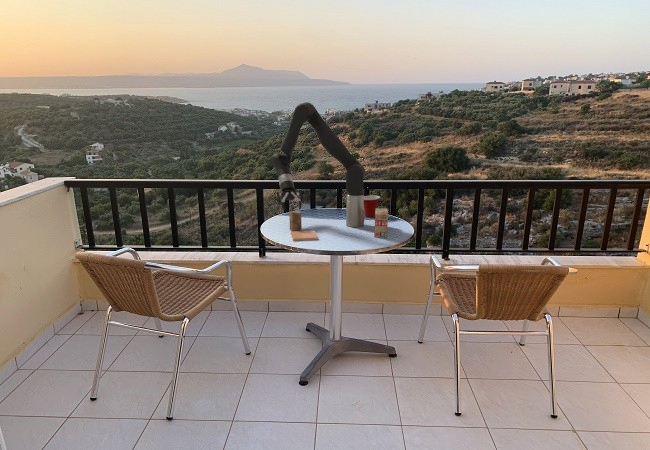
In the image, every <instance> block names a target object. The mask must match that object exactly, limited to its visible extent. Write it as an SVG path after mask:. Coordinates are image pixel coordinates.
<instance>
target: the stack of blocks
mask: <svg viewBox="0 0 650 450" xmlns="http://www.w3.org/2000/svg"><path fill="white" fill-rule="evenodd" d="M388 219H389V211H388V208H386V207H384V208H379V207H377V208H376V209H375V217H374V238H381V239H382V238H386V239H387V237H388V224H389V220H388Z"/></svg>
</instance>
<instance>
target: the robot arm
mask: <svg viewBox="0 0 650 450" xmlns="http://www.w3.org/2000/svg"><path fill="white" fill-rule="evenodd" d="M306 122H308V124H309V125H310V126H311V127H312V128H313V130H314V131H315V133H316V136H317V139H318V141H319V143H320V145H321V146H322V147H323V148H324V149H325V151H326V152H327V153H328V154H329V155H330V156H332V157H333V158H334V159H335V160H337V161H338V162H339V163H340V164H341V165H342V166H343V167H344V169H345V172H346V174H345V178H346V179H345V190H346V209H345V210H346V211H345V212H346V213H345V214H346V215H345V216H346V218H345V225H346V226H347V227H349V228H360V227H364V226H365V210H364V196H365V188H364V178H365V176H366V168H365V167H364V165H362V164H361V163H360V162H359V161H358V160H357V159H356V158H355V157H354V156H353V155H352V154H351V152H350V151H349V150H348V148H347V147H346V146H345V144H344V142H343V141H342V140H341V139H340V138H339V136H338V135H337V134H336V133H335V132H334V130H332V128H331V127H330V126H329V124H328V123H326V121H325V120H324V119H323V118H322V116H321V115H320V112H319V111H318V110H317V109H316V107H315V106H314V104H312V103H311V102H302V103H299V104H297V105H296V106H295V108H294V111H293V114H292V119H291V122H290V124H289V126H288V130H287V132H286V134H285V137H284V139H283V141H282V144H281V145H280V151H281V152H282V154H281V153H277V152H276V153H274V154H273V155H272V157H271V163H272V166H273V168H274V169H275V172H276V173H277V177H278V182H279V183H278V185H279V188H280V192H278V191H277V192H276V193H275V197H276V203H277V204H278V205H280V206H281V210H283V211H286V205H285V202H286V201H294V202H296V203H297V206H298V210H301V209H302V207H303V206H302V205H303V204H302V203H303V202H304V195H303V192H302V191H301V190H299V191H298V192H297V191H296V188H295V185H294V181H293V180H294V179H293V177H292V174H291V173H292V172H291V169H290V168H289V166H290V165H291V162H292V161H291V160H292V155H293V151H294V149H295V147H296V145H297V143H298V139H299V135H300V132H301V129H302V127H303V126H304V125H305V123H306ZM283 153H284V154H283ZM280 197H282V200H281V198H280Z"/></svg>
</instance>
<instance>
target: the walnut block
mask: <svg viewBox="0 0 650 450" xmlns="http://www.w3.org/2000/svg"><path fill="white" fill-rule="evenodd" d="M288 212H289V213H288V215H289V230H290V232H292V231H303V230H302V211H300V209H297V210H290V211H288Z"/></svg>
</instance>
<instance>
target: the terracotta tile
mask: <svg viewBox="0 0 650 450" xmlns="http://www.w3.org/2000/svg"><path fill="white" fill-rule="evenodd" d="M290 235H292V236H291V239H292V240H293V242H300V241H299V240H304V241H318V240H319V237H318V235H317V233H316V231H315V230H302V231H290Z"/></svg>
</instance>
